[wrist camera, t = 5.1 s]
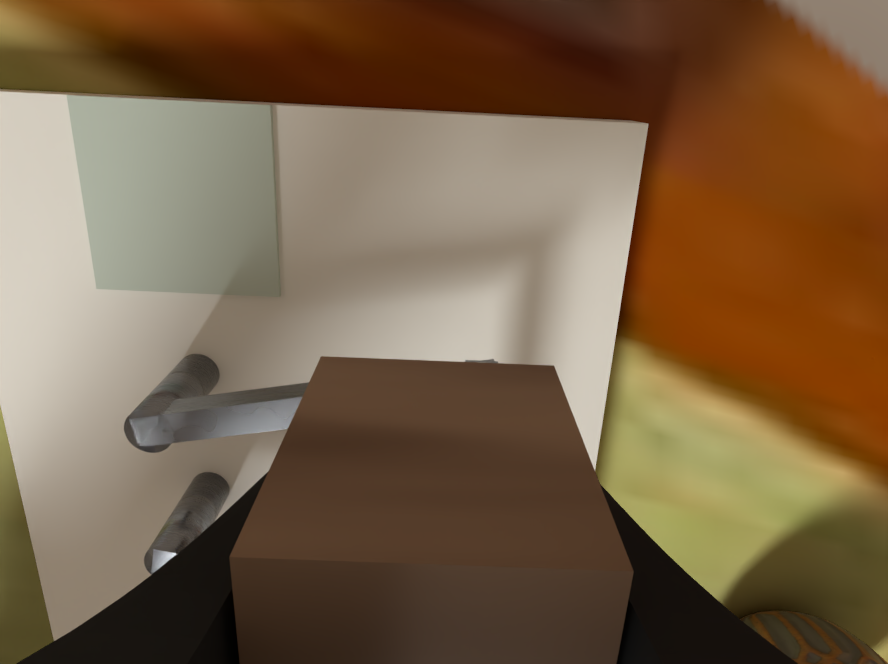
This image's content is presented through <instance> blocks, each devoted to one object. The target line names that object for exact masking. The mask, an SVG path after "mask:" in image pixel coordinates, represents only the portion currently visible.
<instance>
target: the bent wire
mask: <svg viewBox="0 0 888 664" xmlns="http://www.w3.org/2000/svg"><path fill="white" fill-rule="evenodd" d="M465 362H479V363H498V361H494V359H489V360H481V361H479V360H465ZM219 376H220V373H219V369H218V367H217V365H216V363H215V362H214V361H213V360H212V359H210V358H209V357H207V356H205V355H202V354H190V355H188V356H186V357H184V358H183V359H182V360H181V361H180V362H179V363H178V364H177V365H176V366H175V367H174V369H173V370H172V371H171V372H170V373H169V374H168V375H167V376H166V377H165V378H164V379H163V380H162V381H161V382H160V383H159V384H158V385H157V386H156V387H155V388H154V390H153V391H152V392H151V393H150V394H149V395H148V396H147V397H146V398H145V399H144V400H143V401H142V402H141V403H140V404H139V405H138V406H137V407H136V408H135V409H134V411H133V412H132V413H131V414H130V415H129V416H128V417H127V418H126V420H125V423H124V432H125V435H126V437H127V439H128V441H129V442H130V443H131V444H132V445H133V446H134V447H136V448H138V449H139V450H142V451H145V452H149V453H157V452H161V451H164V450H165V449H167V448H168V447H169V446H170V445H171V444H172V443H178V442H186V441H195V440H203V439H211V438H219V437H227V436H235V435H243V434H251V433H259V432H267V431H276V430H284V429H288V427H289V425H290V423H291V421H292V419H293V417H294V414H295V412H296V410H297V408H298V406H299V403H300V401H301V399H302V397H303V395H304V392H305V390H306V388H307V386H308V384H309V382H308V383H300V384H292V385H284V386H276V387H268V388H260V389H252V390H245V391H237V392H229V393H221V394H213V395H209V394H210V392H211V391H212V390H213V388H214V387H215V386H216V384H217V383H218V381H219ZM229 492H230V489H229V485H228V483H227V481H226V480H225V479H224V478H223V477H222V476H220V475H218V474H216V473H213V472H203V473H200V474H198V475H197V476H195V477H194V479H193V480H192V482H191V483H190V485H189V486H188V488H187V490H186V491H185V493H184V494H183V496H182V497H181V499H180V501H179V502H178V504H177V505H176V507H175V508H174V510H173V512H172V513H171V515H170V516H169V518H168V519H167V521H166V523H165V524H164V526H163V527H162V529H161V530H160V532H159V534H158V535H157V537H156V538H155V540H154V541H153V543H152V545H151V546H150V548H149V549H148V551H147V552H146V554H145V557H144V565H145V567H146V569H147V571H148V572H149V573H150V574H151V575H152V574H153V573H154V572H155V571H157V570H158V569H159V568H160V567H162V566H163V565H164V564H165V563H167V562H168V561H169V560H170V559H171V558H173V557H174V556H175V555H176V554H178V553H179V552H180V551H181V550H183V549H184V548H185V547H186V546H187V545H189V544H190V543H191V542H192V541H193V540H194V539H195V538H197V537H198V536H199V535H200V534H201V533H202V532H203V531H204V530H205V529H207V528H208V527H209V526H210V525H211V524H212V523H213V522H214V521H215V520H216V518H217V516H218V514H219V513H220V511H221V509H222V507H223V505H224V503H225V501H226V499H227V497H228V495H229Z"/></svg>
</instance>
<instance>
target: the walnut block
mask: <svg viewBox="0 0 888 664" xmlns="http://www.w3.org/2000/svg"><path fill="white" fill-rule="evenodd" d="M229 559H230V569H231V580H232V590H233V600H234V611H235V621H236V632H237V642H238V652H239V663H240V664H616V663H617V658H618V653H619V647H620V642H621V637H622V631H623V626H624V621H625V615H626V610H627V605H628V599H629V594H630V589H631V583H632V578H633V573H634V571H633V568H632V566H631V563H630V561H629V558H628V555H627V553H626V550H625V548H624V545H623V542H622V540H621V537H620V535H619V532H618V530H617V527H616V524H615V522H614V519H613V517H612V514H611V511H610V509H609V506H608V504H607V501H606V499H605V496H604V493H603V491H602V488H601V486H600V483H599V480H598V478H597V475H596V473H595V470H594V468H593V465H592V462H591V460H590V457H589V455H588V452H587V449H586V447H585V444H584V442H583V439H582V437H581V434H580V431H579V429H578V426H577V424H576V421H575V418H574V416H573V413H572V411H571V408H570V406H569V403H568V400H567V398H566V395H565V393H564V390H563V387H562V385H561V382H560V380H559V377H558V375H557V372H556V369H555V367H554V365H529V364H504V363H479V362H454V361H429V360H404V359H379V358H354V357H329V356H321V357H320V360H319V362H318V364H317V366H316V368H315V371H314V373H313V375H312V377H311V379H310V382H309V384H308V386H307V388H306V390H305V392H304V395H303V397H302V399H301V401H300V403H299V406H298V408H297V410H296V412H295V414H294V417H293V419H292V421H291V423H290V425H289V427H288V430H287V432H286V434H285V436H284V438H283V441H282V443H281V445H280V447H279V449H278V452H277V454H276V456H275V458H274V460H273V463H272V465H271V467H270V469H269V471H268V473H267V476H266V478H265V480H264V482H263V484H262V487H261V489H260V491H259V493H258V495H257V498H256V500H255V502H254V504H253V506H252V509H251V511H250V513H249V515H248V517H247V519H246V522H245V524H244V526H243V528H242V530H241V533H240V535H239V537H238V539H237V541H236V544H235V546H234V548H233V550H232V552H231V554H230V557H229Z"/></svg>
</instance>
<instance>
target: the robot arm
mask: <svg viewBox="0 0 888 664" xmlns="http://www.w3.org/2000/svg"><path fill="white" fill-rule="evenodd" d="M267 473H268V472H267ZM267 473H266V474H265V475H264V476H263V477H262V478H260V479H259V480H258V481H257V482H256V483H255V484H254V485H253V486H252V487H251V488H250V489H249V490H248V491H247V492H246V493H245V494H244V495H243V496H242V497H240V498H239V499H238V500H237V501H236V502H235V503H234V504H233V505H232V506H231V507H230V508H229V509H228V510H227V511H226V512H224V513H223V514H222V515H221V516H220V517H219V518H218V519H217V520H216V521H214V522H213V523H212V524H211V525H210V526H209V527H208V528H207V529H205V530H204V531H203V532H202V533H201V534H200V535H199V536H198V537H197V538H195V539H194V540H193V541H192V542H191V543H190V544H189V545H187V546H186V547H185V548H184V549H183V550H181V551H180V552H179V553H178V554H176V555H175V556H174V557H173V558H171V559H170V560H169V561H168V562H167V563H165V564H164V565H163V566H162V567H160V568H159V569H158V570H157V571H155V572H154V573H153V574H152V575H150V576H149V577H148V578H147V579H145V580H144V581H143V582H141V583H140V584H139V585H137V586H136V587H135V588H133V589H132V590H131V591H129V592H128V593H126V594H125V595H124V596H122V597H121V598H119V599H118V600H117V601H115V602H114V603H112V604H111V605H109V606H108V607H106V608H105V609H103V610H102V611H100V612H99V613H98V614H96V615H95V616H93V617H92V618H90V619H89V620H87V621H86V622H84V623H83V624H81V625H80V626H78V627H77V628H75V629H73V630H72V631H70V632H69V633H67V634H65V635H64V636H62V637H60V638H59V639H57V640H55V641H54V642H52V643H50V644H49V645H47V646H45V647H44V648H42V649H40V650H39V651H37V652H35V653H34V654H32V655H30V656H29V657H27V658H25V659H23V660H22V661H20V662H18V663H17V664H240V663H239V652H238V642H237V632H236V621H235V611H234V600H233V590H232V580H231V569H230V559H229V557H230V554H231V552H232V550H233V548H234V546H235V544H236V541H237V539H238V537H239V535H240V533H241V530H242V528H243V526H244V524H245V522H246V519H247V517H248V515H249V513H250V511H251V509H252V506H253V504H254V502H255V500H256V498H257V495H258V493H259V491H260V489H261V487H262V484H263V482H264V480H265V478H266V476H267ZM600 486H601V484H600ZM601 488H602V491H603V493H604V496H605V499H606V501H607V504H608V506H609V509H610V511H611V514H612V517H613V519H614V522H615V524H616V527H617V530H618V532H619V535H620V537H621V540H622V542H623V545H624V548H625V550H626V553H627V555H628V558H629V561H630V563H631V566H632V568H633V571H634V573H633V578H632V583H631V589H630V594H629V599H628V605H627V610H626V615H625V621H624V626H623V631H622V637H621V642H620V647H619V653H618V658H617V663H616V664H798V663H797V662H795V661H794V660H792V659H791V658H790V657H788V656H787V655H786V654H784V653H783V652H782V651H780V650H779V649H778V648H776V647H775V646H774V645H772V644H771V643H770V642H769V641H767V640H766V639H765V638H763V637H762V636H761V635H760V634H758V633H757V632H756V631H754V630H753V629H752V628H750V627H749V626H748V625H747V624H745V623H744V622H743V621H741V620H740V619H739V618H738V617H737V616H735V615H734V614H733V613H732V612H731V611H729V610H728V609H727V608H726V607H725V606H723V605H722V604H721V603H720V602H719V601H718V600H716V599H715V598H714V597H713V596H712V595H711V594H710V593H709V592H707V591H706V590H705V589H704V588H703V587H702V586H701V585H700V584H698V583H697V582H696V581H695V580H694V579H693V578H692V577H691V576H690V575H688V574H687V573H686V572H685V571H684V570H683V569H682V568H681V567H680V566H679V565H678V564H677V563H676V562H675V561H674V560H673V559H672V558H671V557H670V556H668V555H667V554H666V553H665V552H664V551H663V550H662V549H661V548H660V547H659V546H658V545H657V544H656V543H655V542H654V541H653V540H652V539H651V538H650V537H649V536H648V535H647V533H646V532H645V531H644V530H643V529H642V528H641V527H640V526H639V525H638V524H637V523H636V522H635V521H634V520H633V519H632V518H631V517H630V516H629V515H628V514H627V512H626V511H625V510H624V509H623V508H622V507H621V506H620V505H619V504H618V503H617V502H616V501H615V500H614V499H613V497H612V496H611V495H610V494H609V493H608V492H607V491H606V490H605V489H604V488H603V487H602V486H601Z"/></svg>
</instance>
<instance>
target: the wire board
mask: <svg viewBox="0 0 888 664" xmlns="http://www.w3.org/2000/svg"><path fill="white" fill-rule="evenodd" d="M647 131H648V123H643V122H637V121H631V120H611V119H591V118H571V117H551V116H531V115H511V114H491V113H471V112H451V111H431V110H411V109H390V108H370V107H350V106H330V105H310V104H290V103H270V102H250V101H230V100H210V99H190V98H170V97H150V96H130V95H110V94H89V93H69V92H49V91H29V90H9V89H0V405H1V409H2V414H3V418H4V423H5V427H6V431H7V436H8V440H9V445H10V449H11V454H12V458H13V462H14V467H15V471H16V476H17V480H18V484H19V489H20V493H21V498H22V502H23V507H24V511H25V515H26V520H27V524H28V529H29V533H30V537H31V542H32V546H33V551H34V555H35V560H36V564H37V568H38V573H39V577H40V582H41V586H42V591H43V595H44V599H45V604H46V608H47V613H48V617H49V621H50V626H51V630H52V635H53V639H54V641H55V640H57V639H59V638H60V637H62V636H64V635H65V634H67V633H69V632H70V631H72V630H73V629H75V628H77V627H78V626H80V625H81V624H83V623H84V622H86V621H87V620H89V619H90V618H92V617H93V616H95V615H96V614H98V613H99V612H100V611H102V610H103V609H105V608H106V607H108V606H109V605H111V604H112V603H114V602H115V601H117V600H118V599H119V598H121V597H122V596H124V595H125V594H126V593H128V592H129V591H131V590H132V589H133V588H135V587H136V586H137V585H139V584H140V583H141V582H143V581H144V580H145V579H147V578H148V577H149V576H150V575H151V574H150V573H149V572H148V571H147V569H146V567H145V565H144V557H145V554H146V552H147V551H148V549H149V548H150V546H151V545H152V543H153V541H154V540H155V538H156V537H157V535H158V534H159V532H160V530H161V529H162V527H163V526H164V524H165V523H166V521H167V519H168V518H169V516H170V515H171V513H172V512H173V510H174V508H175V507H176V505H177V504H178V502H179V501H180V499H181V497H182V496H183V494H184V493H185V491H186V490H187V488H188V486H189V485H190V483H191V482H192V480H193V479H194V477H195V476H197V475H198V474H200V473H203V472H213V473H216V474H218V475H220V476H222V477H223V478H224V479H225V480H226V481H227V483H228V485H229V489H230V492H229V495H228V497H227V499H226V501H225V503H224V505H223V507H222V509H221V511H220V513H219V514H218V516H217V518H216V520H217V519H218V518H219V517H220V516H221V515H222V514H223V513H224V512H226V511H227V510H228V509H229V508H230V507H231V506H232V505H233V504H234V503H235V502H236V501H237V500H238V499H239V498H240V497H242V496H243V495H244V494H245V493H246V492H247V491H248V490H249V489H250V488H251V487H252V486H253V485H254V484H255V483H256V482H257V481H258V480H259V479H260V478H262V477H263V476H264V475H265V474H266V473H267V472H268V471H269V469H270V467H271V465H272V463H273V460H274V458H275V456H276V454H277V452H278V449H279V447H280V445H281V443H282V441H283V438H284V436H285V434H286V432H287V430H288V429H284V430H276V431H267V432H259V433H251V434H243V435H235V436H227V437H219V438H211V439H203V440H195V441H186V442H178V443H172V444H171V445H170V446H169V447H168V448H167V449H165V450H164V451H161V452H157V453H149V452H145V451H142V450H139V449H138V448H136V447H134V446H133V445H132V444H131V443H130V442H129V441H128V439H127V437H126V435H125V432H124V423H125V420H126V418H127V417H128V416H129V415H130V414H131V413H132V412H133V411H134V409H135V408H136V407H137V406H138V405H139V404H140V403H141V402H142V401H143V400H144V399H145V398H146V397H147V396H148V395H149V394H150V393H151V392H152V391H153V390H154V388H155V387H156V386H157V385H158V384H159V383H160V382H161V381H162V380H163V379H164V378H165V377H166V376H167V375H168V374H169V373H170V372H171V371H172V370H173V369H174V367H175V366H176V365H177V364H178V363H179V362H180V361H181V360H182V359H183V358H184V357H186V356H188V355H190V354H202V355H205V356H207V357H209V358H210V359H212V360H213V361H214V362H215V363H216V365H217V367H218V369H219V373H220V376H219V381H218V383H217V384H216V386H215V387H214V388H213V390H212V391H211V392H210V394H209V395H213V394H221V393H229V392H237V391H245V390H252V389H260V388H268V387H276V386H284V385H292V384H300V383H308V382H310V379H311V377H312V375H313V373H314V371H315V368H316V366H317V364H318V362H319V360H320V357H321V356H329V357H354V358H379V359H404V360H429V361H454V362H465V360H479V361H481V360H489V359H494V361H498V363H504V364H529V365H554V367H555V369H556V372H557V375H558V377H559V380H560V382H561V385H562V387H563V390H564V393H565V395H566V398H567V400H568V403H569V406H570V408H571V411H572V413H573V416H574V418H575V421H576V424H577V426H578V429H579V431H580V434H581V437H582V439H583V442H584V444H585V447H586V449H587V452H588V455H589V457H590V460H591V462H592V465H593V468H594V470H595V468H596V461H597V455H598V448H599V442H600V435H601V429H602V422H603V416H604V409H605V403H606V396H607V390H608V383H609V377H610V371H611V364H612V358H613V351H614V345H615V338H616V332H617V325H618V319H619V312H620V306H621V299H622V293H623V286H624V280H625V273H626V267H627V260H628V254H629V247H630V241H631V234H632V228H633V221H634V215H635V209H636V202H637V196H638V189H639V183H640V176H641V170H642V163H643V157H644V150H645V144H646V137H647ZM216 520H215V521H216Z"/></svg>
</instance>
